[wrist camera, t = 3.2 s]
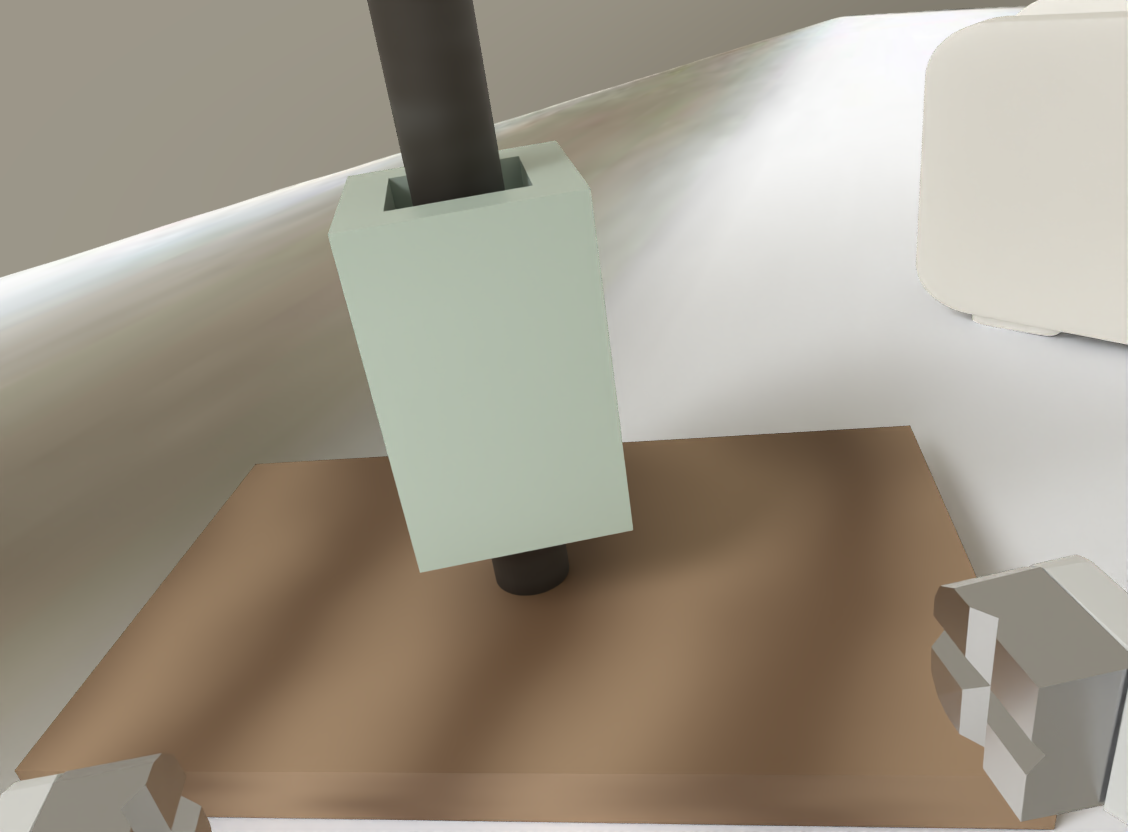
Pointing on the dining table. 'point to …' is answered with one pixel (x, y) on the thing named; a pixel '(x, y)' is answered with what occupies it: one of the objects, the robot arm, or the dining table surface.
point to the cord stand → (553, 616)
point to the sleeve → (487, 357)
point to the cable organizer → (1030, 171)
